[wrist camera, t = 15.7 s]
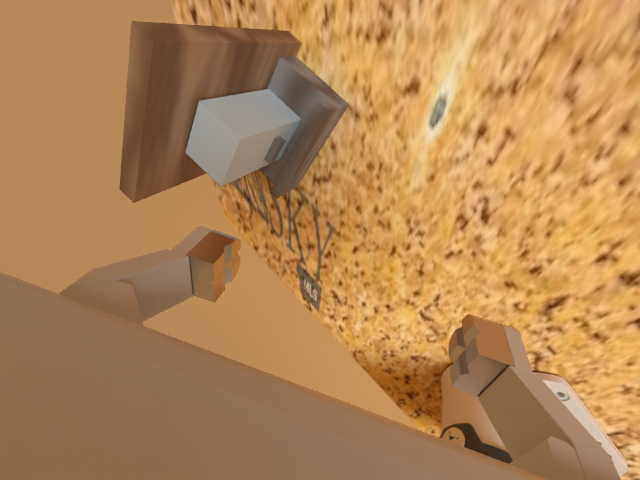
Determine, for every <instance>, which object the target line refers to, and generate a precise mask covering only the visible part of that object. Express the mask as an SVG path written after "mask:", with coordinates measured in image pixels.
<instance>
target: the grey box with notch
mask: <svg viewBox="0 0 640 480" xmlns="http://www.w3.org/2000/svg"><path fill="white" fill-rule="evenodd" d="M300 121H301V118H300V117H299V116H298V115H296V114H295V113H294V112H293V111H292V110H291V109H290V108H289V107H288V106H287V105H286V104H285V103H284V102H282V101H281V100H280V99H279V98H278V97H277V96H276V95H275V94H274V93H273V92H272V91H271V90H269V89H265V90H260V91H254V92H248V93H242V94H236V95H230V96H225V97H219V98H213V99H207V100H201V101H199V103H198V107H197V111H196V114H195V118H194V122H193V126H192V129H191V133H190V137H189V141H188V145H187V148H186V152H185V153H186V154H187V155H188V156H189V157H191V158H192V159H193V160H194V161H195V162H196V163H197V164H198V165H199V166H200V167H201V168H202V169H203V170H204V171H205V172H206V173H207V174H208V175H209V176H210V177H212V178H213V179H214V180H215V181H216V182H217V183H218V184H219V185H220V186H224V185H226V184H228V183H230V182H232V181H234V180H236V179H238V178H241V177H243V176H245V175H247V174H249V173H251V172H253V171H255V170H258V169H260V168H262V167H264V166H266V165H268V164H270V163H273V162H275V161H277V160H279V159H280V158H281V156H282V154H283V152H284V150H285V148H286V147H287V145H288V143H289V141H290V139H291V137H292V136H293V134H294V132H295V130H296V128H297V127H298V125H299V123H300Z"/></svg>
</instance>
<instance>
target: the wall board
mask: <svg viewBox="0 0 640 480" xmlns="http://www.w3.org/2000/svg"><path fill="white" fill-rule="evenodd" d="M301 44H302V43H301V42H300V41H299V40H298V39H297V38H295V37H294V36H293V35H292V34H291V33H290V32H289V31H280V30H264V29H248V28H232V27H216V26H201V25H185V24H169V23H168V24H167V23H153V22H136V21H132V24H131V36H130V51H129V64H128V79H127V92H126V108H125V120H124V121H125V122H124V135H123V149H122V163H121V177H120V190H121V191H122V192H123V193H124V194H125V195H126V196H127V197H128V198H129V199H130V200H132V202H134V203H135V202H137V201H140V200H142V199H145V198H147V197H150V196H152V195H154V194H157V193H159V192H162V191H164V190H166V189H169V188H172V187H174V186H176V185H179V184H181V183H184V182H186V181H189V180H191V179H194V178H196V177H199V176H201V175H204V174H206V172H205V171H204V170H203V169H202V168H201V167H200V166H199V165H198V164H197V163H196V162H195V161H194V160H193V159H192V158H191V157H189V156H188V155H187V154H186V153H185V152H186V148H187V145H188V141H189V137H190V133H191V129H192V126H193V122H194V118H195V114H196V111H197V107H198V103H199V101H201V100H207V99H213V98H219V97H225V96H230V95H236V94H242V93H248V92H254V91H260V90H265V89H269V90H271V91H272V92H273V93H274V94H275V95H276V96H277V97H278V98H279V99H280V100H281V101H282V102H284V103H285V104H286V105H287V106H288V107H289V108H290V109H291V110H292V111H293V112H294V113H295V114H296V115H298V116H299V117H300V118H301V121H300V123H299V125H298V127H297V128H296V130H295V132H294V134H293V136H292V137H291V139H290V141H289V143H288V145H287V147H286V148H285V150H284V152H283V154H282V156H281V158H280V159H279V160H277V161H275V162H273V163H270V164H268V165H266V166H264V167H262V168H260V169H259V170H260V171H261V172H262V173H264V174H265V175H266V176H267V177H268V178H269V179H270V180H271V181H272V182H273V183H274V186H273V188H272V189H271V191H270V193H272V194H273V195H274V196H275V197H276V198H279V197H280V196H282V195H283V194H285V193H287V192H288V191H290V190H291V189H293V188H295V187H296V186H298V184H299V182H300V181H301V179H302V178H303V176H304V174H305V173H306V171H307V170H308V168H309V167H310V165H311V163H312V162H313V160H314V159H315V157H316V156H317V154H318V152H319V151H320V149H321V148H322V146H323V145H324V143H325V141H326V140H327V138H328V137H329V135H330V134H331V132H332V130H333V129H334V127H335V126H336V124H337V123H338V121H339V119H340V118H341V116H342V115H343V113H344V112H345V110H346V108H347V107H348V105H349V104H348V103H347V102H346V101H345V100H343V99H342V98H341V97H340V96H339V95H338V94H337V93H336V92H335V91H333V90H332V89H331V88H330V87H329V86H328V85H327V84H326V83H325V82H323V81H322V80H321V79H320V78H319V77H318V76H317V75H316V74H315V73H313V72H312V71H311V70H310V69H309V68H308V67H307V66H306V65H305V64H303V63H302V62H301V61H300V60H299V59H298V58H297V57H296V55H297V53H298V50H299V48H300V46H301Z"/></svg>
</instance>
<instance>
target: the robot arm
mask: <svg viewBox="0 0 640 480" xmlns="http://www.w3.org/2000/svg"><path fill="white" fill-rule="evenodd" d="M239 249H240V240H239V239H237V238H235V237H232V236H229V235H226V234H223V233H220V232H217V231H215V230H211V229H208V228H205V227H202V226H200V227H197V228H196V229H195V230H194V231H192V232H191V233H190V234H189V235H188V236H187V237H186V238H184V239H183V240H182V241H181V242H180V243H179V244H177V245H176V246H175V247H174V248H173V249H172V250H168V249H166V250H162V251H158V252H154V253H151V254H147V255H143V256H139V257H136V258H133V259H129V260H125V261H121V262H118V263H114V264H110V265H107V266H103V267H99V268H95V269H92V270H91V271H90V272H88V273H87V274H85V275H84V276H83V277H81V278H80V279H78V280H77V281H75V282H74V283H73V284H71V285H70V286H69V287H67V288H66V289H64V290H63V291H62V292H60V293H59V294H57V293H54V292H52V291H49V290H46V289H44V288H41V287H39V286H36V285H33V284H31V283H28V282H25V281H23V280H20V279H17V278H15V277H12V276H9V275H7V274H4V273H1V272H0V480H621V479H620V476H622V475H623V474H624V473H626V472H627V471H628V466H627V462H626V460H625V458H624V457H623V456H622V454H621V453H620V452H619V450H618V449H617V448H616V446H615V445H614V444H613V442H612V441H611V440H610V438H609V437H608V436H607V434H606V433H605V432H604V430H603V429H602V428H601V426H600V425H599V424H598V422H597V421H596V420H595V418H594V417H593V416H592V414H591V413H590V412H589V410H588V409H587V408H586V407H585V405H584V404H583V403H582V401H581V400H580V399H579V397H578V396H577V395H576V393H575V392H574V391H573V389H572V388H571V387H570V385H569V384H568V383H567V381H566V380H564V379H563V378H561V377H559V376H556V375H552V374H546V373H538V372H532V369H531V366H530V363H529V360H528V357H527V354H526V350H525V347H524V344H523V341H522V338H521V335H520V332H519V331H518V330H517V329H516V328H512V327H509V326H506V325H503V324H498V323H495V322H492V321H489V320H486V319H483V318H480V317H477V316H474V315H470V314H468V315H467V316H465V317H464V319H463V320H462V328H459V329H456V330H455V332H454V333H453V335H452V336H451V339H450V343H449V357H450V359H451V360H452V362H453V364H452V365H451V366H449V367H448V368H447V369H446V370H445V371H444V373H443V375H442V377H441V388H442V407H441V413H442V420H441V435H440V438H439V437H436V436H433V435H431V434H428V433H425V432H423V431H420V430H417V429H415V428H412V427H409V426H407V425H404V424H401V423H399V422H396V421H393V420H391V419H388V418H386V417H383V416H380V415H377V414H375V413H372V412H370V411H367V410H364V409H362V408H359V407H356V406H353V405H351V404H348V403H346V402H343V401H340V400H338V399H335V398H332V397H330V396H327V395H324V394H322V393H319V392H316V391H314V390H311V389H308V388H306V387H303V386H301V385H298V384H295V383H293V382H290V381H287V380H285V379H282V378H279V377H277V376H274V375H272V374H269V373H266V372H264V371H261V370H258V369H256V368H253V367H250V366H248V365H245V364H242V363H240V362H237V361H235V360H232V359H229V358H227V357H224V356H221V355H219V354H216V353H213V352H211V351H208V350H205V349H203V348H200V347H197V346H195V345H192V344H190V343H187V342H184V341H182V340H179V339H176V338H174V337H171V336H168V335H165V334H163V333H160V332H158V331H155V330H152V329H150V328H147V327H145V326H143V321H145V320H147V319H149V318H151V317H153V316H155V315H157V314H159V313H161V312H163V311H165V310H167V309H169V308H171V307H173V306H175V305H177V304H179V303H181V302H183V301H185V300H187V299H189V298H191V297H193V295H194V296H197V297H200V298H203V299H206V300H209V301H212V302H216V301H217V299H218V298H219V297H220V295H221V294H222V293H223V292H224V290H225V284H226V283H228V282H231V281H232V280H233V278H234V277H235V276H236V273H237V271H238V269H239V265H240V257H239V255H238V253H237V252H238V250H239Z"/></svg>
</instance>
